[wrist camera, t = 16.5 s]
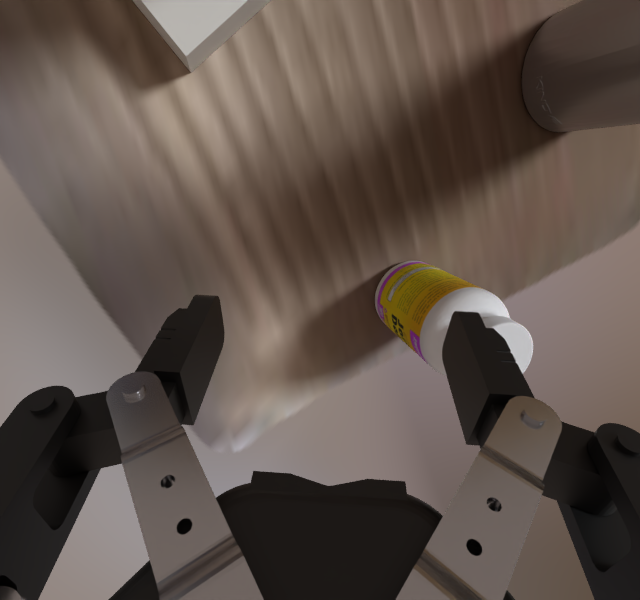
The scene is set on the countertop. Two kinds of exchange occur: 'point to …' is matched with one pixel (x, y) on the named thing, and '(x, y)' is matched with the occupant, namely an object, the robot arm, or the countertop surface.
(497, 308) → the supplement bottle
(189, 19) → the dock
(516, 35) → the countertop surface
